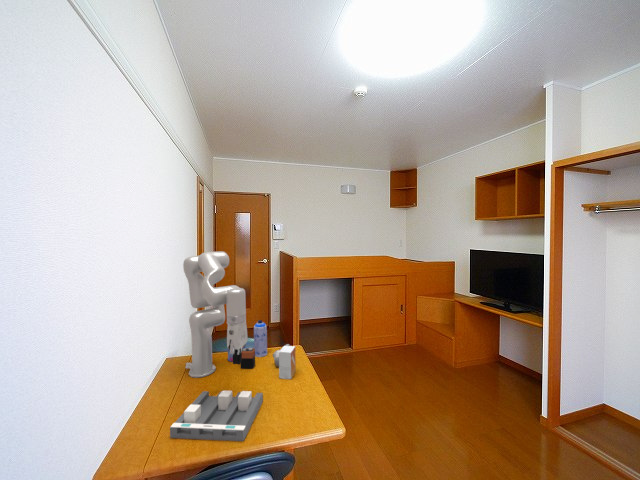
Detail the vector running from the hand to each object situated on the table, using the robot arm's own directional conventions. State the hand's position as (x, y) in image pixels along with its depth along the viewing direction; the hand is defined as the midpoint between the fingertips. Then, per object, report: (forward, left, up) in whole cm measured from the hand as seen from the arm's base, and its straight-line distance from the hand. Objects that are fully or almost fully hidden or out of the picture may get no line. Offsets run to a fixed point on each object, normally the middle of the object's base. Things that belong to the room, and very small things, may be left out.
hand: (237, 363), depth 109 cm
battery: (-8, +32, -17) cm, 37 cm away
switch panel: (-4, -8, -17) cm, 19 cm away
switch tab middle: (-4, -4, -16) cm, 16 cm away
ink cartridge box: (-18, +42, -17) cm, 49 cm away
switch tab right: (+4, -4, -15) cm, 17 cm away
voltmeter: (+9, +41, -18) cm, 46 cm away
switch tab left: (-12, -14, -16) cm, 24 cm away
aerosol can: (-6, +48, -17) cm, 51 cm away
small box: (+15, +25, -17) cm, 34 cm away
